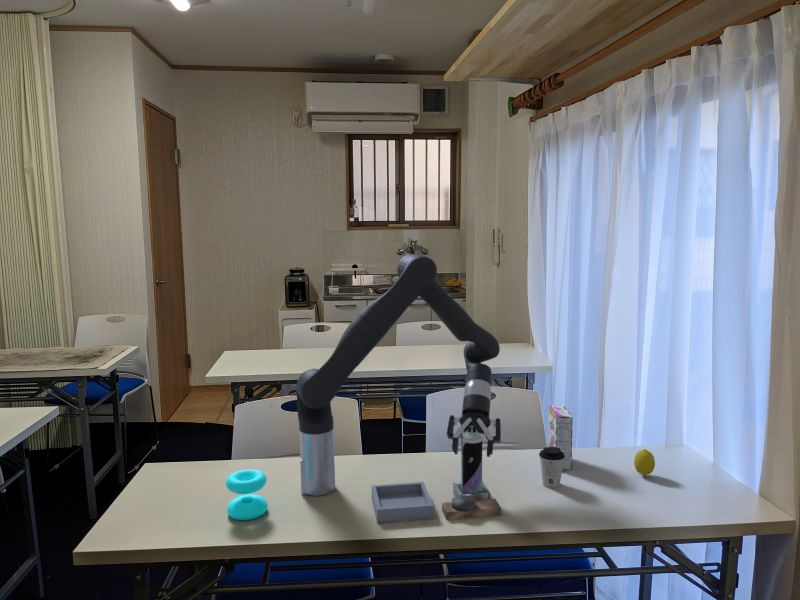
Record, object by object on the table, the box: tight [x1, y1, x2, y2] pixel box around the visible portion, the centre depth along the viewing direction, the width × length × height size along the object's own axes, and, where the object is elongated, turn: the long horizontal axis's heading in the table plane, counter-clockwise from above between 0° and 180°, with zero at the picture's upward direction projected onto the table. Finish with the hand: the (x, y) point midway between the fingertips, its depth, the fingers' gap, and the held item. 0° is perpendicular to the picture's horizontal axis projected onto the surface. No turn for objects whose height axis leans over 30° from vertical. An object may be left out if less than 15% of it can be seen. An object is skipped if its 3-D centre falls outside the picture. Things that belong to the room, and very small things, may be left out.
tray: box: [371, 481, 435, 524], centre depth 162 cm, size 14×14×4 cm
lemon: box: [633, 448, 656, 477], centre depth 179 cm, size 6×6×8 cm
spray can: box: [460, 426, 483, 495], centre depth 165 cm, size 6×6×20 cm
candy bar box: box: [547, 404, 574, 471], centre depth 188 cm, size 11×5×16 cm, turn 179°
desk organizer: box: [441, 480, 502, 521], centre depth 163 cm, size 14×15×4 cm
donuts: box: [225, 468, 269, 521], centre depth 160 cm, size 10×10×10 cm
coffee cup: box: [538, 446, 565, 489], centre depth 174 cm, size 7×7×10 cm
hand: (471, 454), depth 165 cm, fingers open, 8 cm apart
